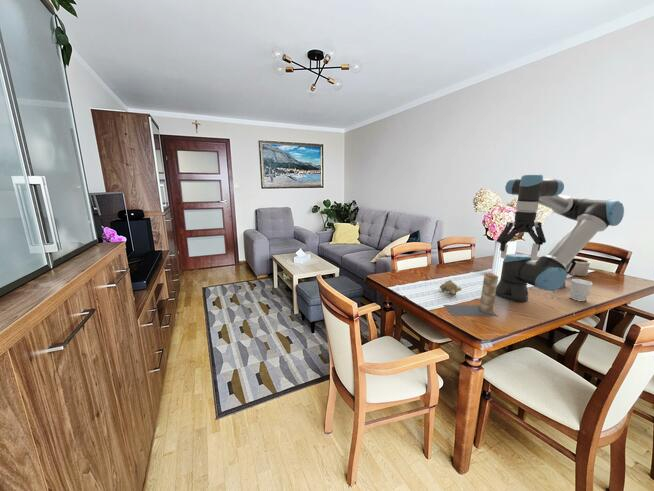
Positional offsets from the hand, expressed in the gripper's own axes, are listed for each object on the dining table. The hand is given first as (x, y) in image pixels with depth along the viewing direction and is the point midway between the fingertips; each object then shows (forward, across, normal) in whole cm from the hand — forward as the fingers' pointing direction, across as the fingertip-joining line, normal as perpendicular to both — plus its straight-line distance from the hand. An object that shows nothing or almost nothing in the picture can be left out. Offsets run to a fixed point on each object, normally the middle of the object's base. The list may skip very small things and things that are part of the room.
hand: (518, 258), depth 125 cm
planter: (+28, -78, -54) cm, 99 cm away
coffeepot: (+28, -50, -34) cm, 67 cm away
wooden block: (+26, +11, 0) cm, 28 cm away
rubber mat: (+26, +19, 0) cm, 32 cm away
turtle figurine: (+27, +20, -20) cm, 39 cm away
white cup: (+27, -45, -14) cm, 54 cm away
